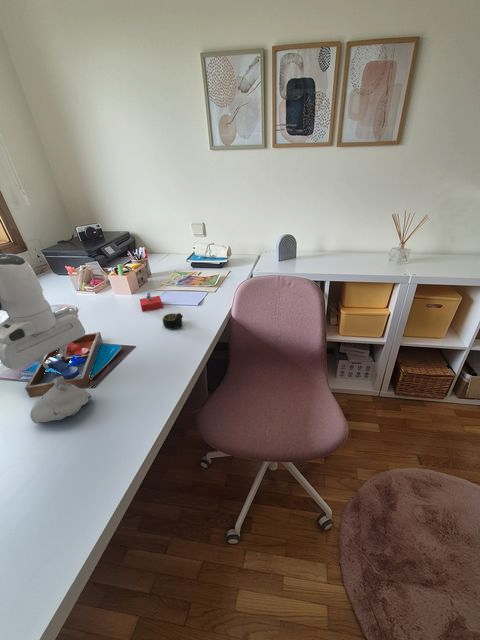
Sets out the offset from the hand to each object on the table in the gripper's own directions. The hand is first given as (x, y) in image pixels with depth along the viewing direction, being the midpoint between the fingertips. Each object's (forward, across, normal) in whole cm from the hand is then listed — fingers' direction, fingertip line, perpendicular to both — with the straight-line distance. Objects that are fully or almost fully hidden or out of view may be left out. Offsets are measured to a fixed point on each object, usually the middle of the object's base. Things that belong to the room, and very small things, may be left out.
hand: (56, 364), depth 84 cm
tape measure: (+4, -37, +8) cm, 39 cm away
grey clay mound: (+4, +8, +16) cm, 19 cm away
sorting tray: (+4, -4, -2) cm, 6 cm away
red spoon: (+3, -8, -6) cm, 11 cm away
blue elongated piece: (+2, 0, +2) cm, 3 cm away
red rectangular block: (+4, -45, -12) cm, 46 cm away
